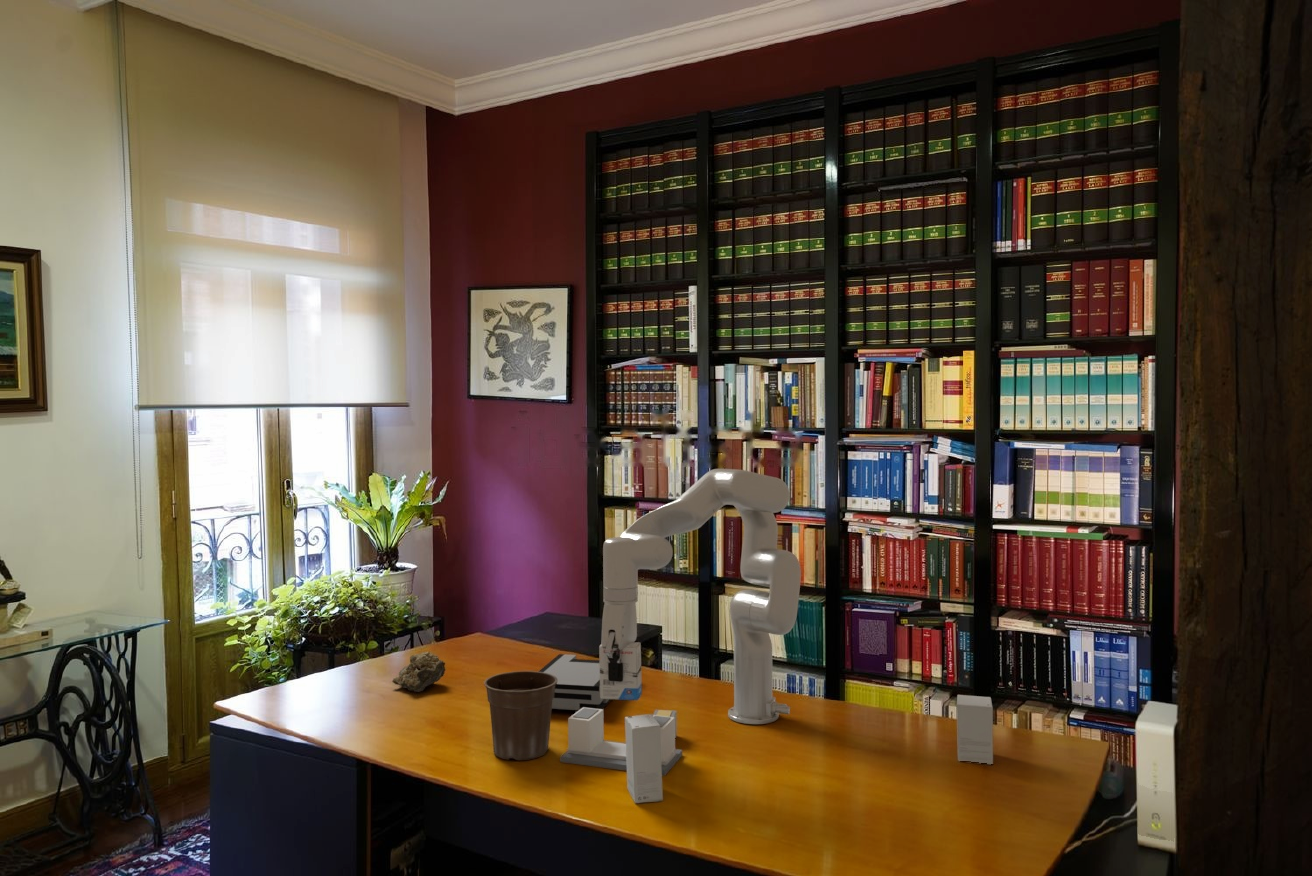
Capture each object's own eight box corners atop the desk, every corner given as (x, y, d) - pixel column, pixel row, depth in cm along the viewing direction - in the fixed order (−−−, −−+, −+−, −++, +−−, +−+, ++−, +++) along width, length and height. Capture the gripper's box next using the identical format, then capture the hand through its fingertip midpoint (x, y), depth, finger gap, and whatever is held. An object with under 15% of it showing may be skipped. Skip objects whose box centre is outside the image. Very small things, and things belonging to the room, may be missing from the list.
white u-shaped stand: (682, 755, 198) (682, 714, 198) (664, 775, 187) (664, 732, 186) (583, 743, 206) (582, 703, 206) (560, 762, 195) (560, 720, 194)
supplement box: (992, 753, 198) (992, 696, 197) (993, 766, 191) (993, 707, 190) (957, 749, 200) (956, 693, 200) (956, 761, 193) (956, 703, 193)
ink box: (642, 694, 197) (642, 641, 197) (637, 701, 193) (637, 647, 192) (604, 692, 199) (604, 639, 199) (598, 699, 194) (598, 645, 194)
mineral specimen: (380, 689, 249) (380, 653, 249) (417, 677, 259) (417, 643, 259) (415, 697, 241) (415, 661, 240) (452, 686, 251) (451, 650, 251)
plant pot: (529, 733, 212) (528, 666, 212) (572, 751, 201) (572, 679, 201) (470, 751, 201) (470, 680, 201) (513, 771, 190) (512, 695, 189)
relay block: (676, 736, 210) (676, 709, 210) (672, 745, 204) (672, 718, 204) (655, 735, 211) (655, 708, 211) (651, 744, 205) (651, 717, 205)
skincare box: (663, 801, 174) (662, 725, 174) (633, 805, 173) (632, 728, 172) (653, 784, 182) (653, 712, 182) (624, 787, 181) (624, 714, 181)
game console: (629, 682, 255) (629, 653, 254) (599, 719, 223) (599, 686, 223) (559, 678, 259) (559, 650, 259) (520, 714, 227) (520, 681, 227)
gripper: (619, 586, 205) (619, 665, 205) (589, 601, 189) (589, 686, 189) (650, 588, 202) (650, 668, 203) (622, 603, 186) (622, 689, 186)
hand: (620, 676), depth 196 cm, fingers closed on ink box, 5 cm apart
